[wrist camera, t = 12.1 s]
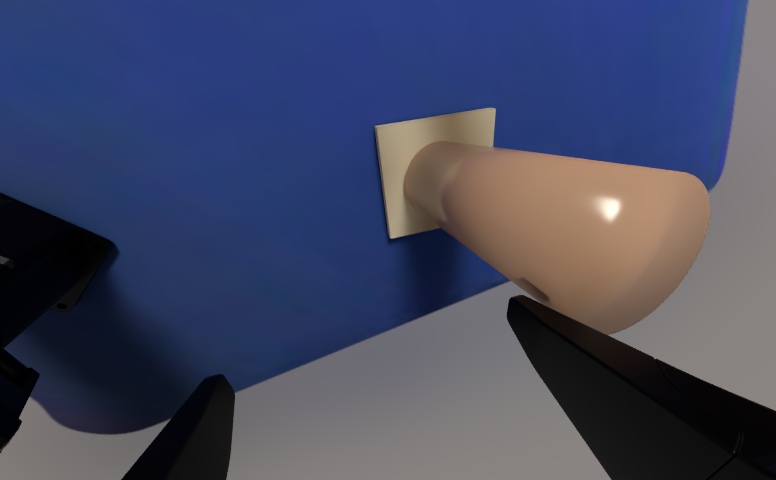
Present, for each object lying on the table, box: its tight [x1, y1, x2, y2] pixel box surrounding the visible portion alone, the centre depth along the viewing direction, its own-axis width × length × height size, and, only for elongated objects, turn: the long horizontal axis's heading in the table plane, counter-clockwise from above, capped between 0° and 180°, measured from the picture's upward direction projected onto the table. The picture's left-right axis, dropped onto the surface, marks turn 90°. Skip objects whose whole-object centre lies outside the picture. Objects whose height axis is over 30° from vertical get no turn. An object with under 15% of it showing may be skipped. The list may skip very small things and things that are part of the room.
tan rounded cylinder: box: [405, 141, 710, 335], centre depth 14 cm, size 5×5×13 cm
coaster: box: [374, 108, 496, 239], centre depth 20 cm, size 8×8×1 cm
